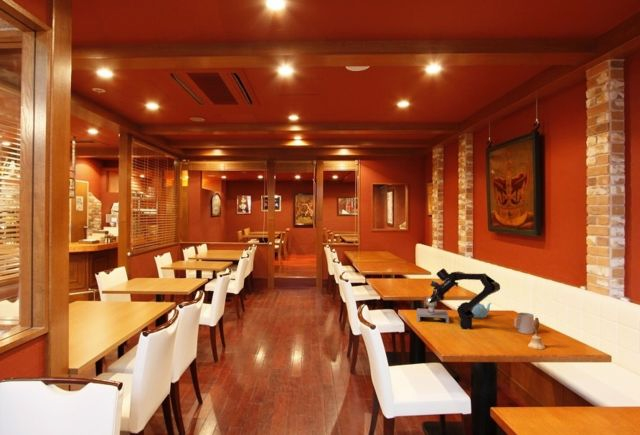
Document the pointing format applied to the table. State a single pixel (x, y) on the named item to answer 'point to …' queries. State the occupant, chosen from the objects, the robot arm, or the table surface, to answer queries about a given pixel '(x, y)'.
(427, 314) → the base
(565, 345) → the table surface
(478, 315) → the teapot
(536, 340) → the hand bell
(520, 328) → the mug
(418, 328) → the table surface
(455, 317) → the table surface
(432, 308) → the grey beige cylinder
